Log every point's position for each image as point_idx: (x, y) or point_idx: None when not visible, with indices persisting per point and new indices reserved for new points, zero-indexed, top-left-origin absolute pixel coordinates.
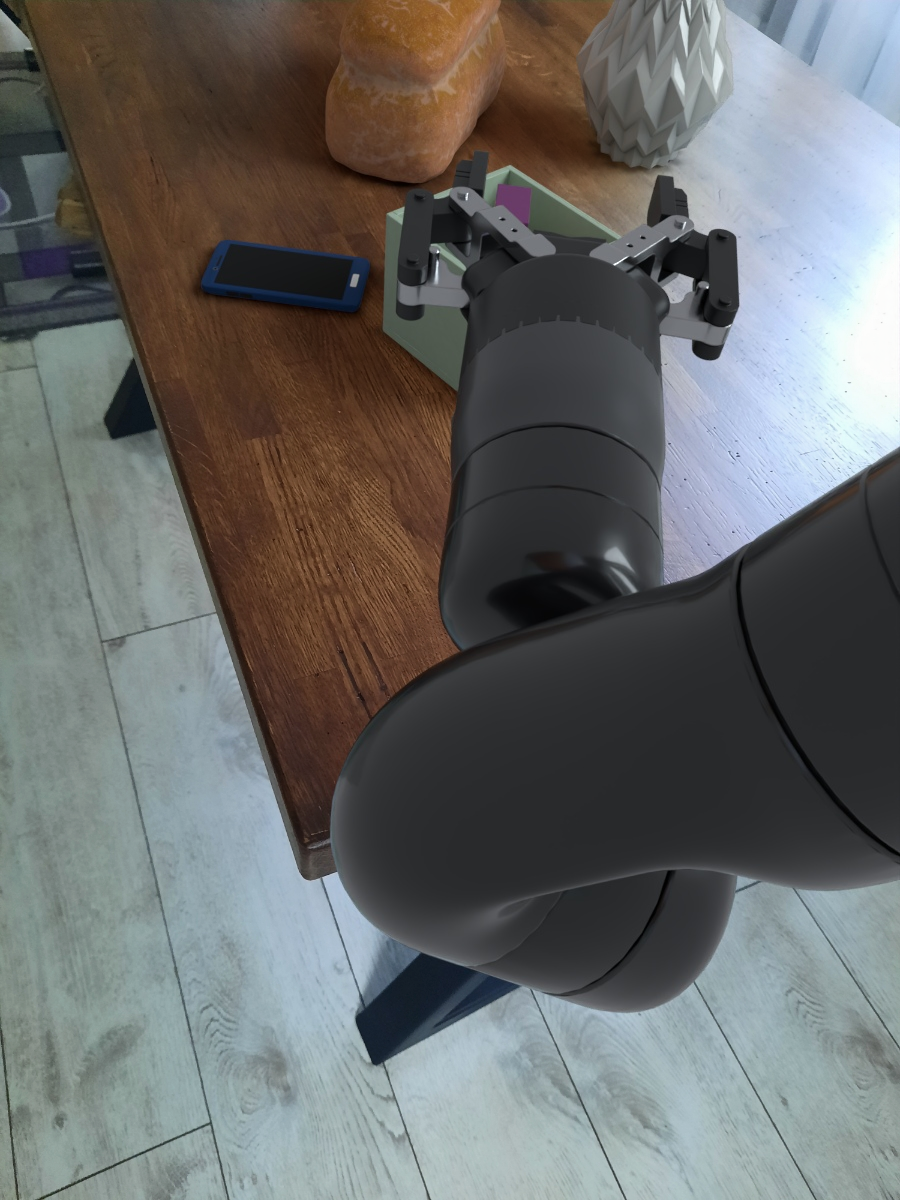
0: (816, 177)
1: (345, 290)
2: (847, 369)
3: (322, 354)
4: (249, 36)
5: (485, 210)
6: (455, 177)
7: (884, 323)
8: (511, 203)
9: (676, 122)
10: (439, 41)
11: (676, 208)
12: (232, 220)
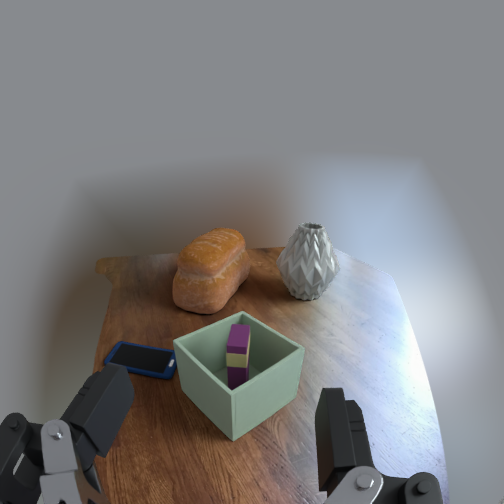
0: (375, 296)
1: (166, 368)
2: (411, 380)
3: (149, 402)
4: (159, 262)
5: (47, 479)
6: (77, 395)
7: (418, 354)
8: (237, 335)
9: (320, 282)
10: (215, 259)
11: (352, 437)
12: (128, 331)
